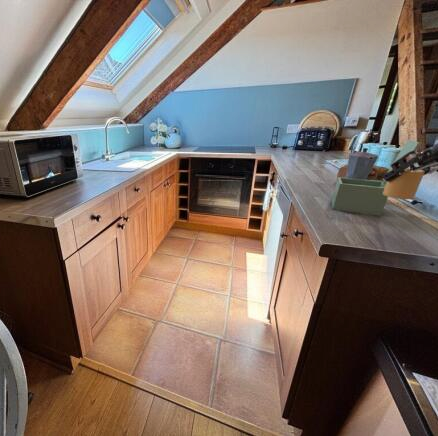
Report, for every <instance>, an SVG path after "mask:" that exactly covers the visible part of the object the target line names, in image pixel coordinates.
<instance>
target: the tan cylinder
mask: <svg viewBox="0 0 438 436" xmlns="http://www.w3.org/2000/svg"><path fill="white" fill-rule="evenodd" d="M409 168H410V167H408V168H407V169H409ZM391 170H393V169H391ZM405 170H406V169H405ZM424 172H425V171H424V170H418V171H410V172H408V173H405V174H403V175H401V176H399V177H398V178H396V179H394V180H392V181H390V182H387V183H386V186H385V188H384V191H383V195H385V196H388V198H393V199H398V200H399V199H400V200H413V199H415V196H416V194H417V191H418V190H419V187H420V184H421V182H422V179H423V177H424V176H425V175H424ZM423 175H424V176H423Z"/></svg>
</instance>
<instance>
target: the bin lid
mask: <svg viewBox="0 0 438 436" xmlns="http://www.w3.org/2000/svg"><path fill="white" fill-rule="evenodd" d="M421 145H422V143H421V142H419V141H416V140H412V139H406V141H405V143H404V144H403V146H402V148H401V150H399V152H398V154H397V156H396V158H395V159H394V161H393V163H394V162H396V161H397V160H398V159H400V158H401V157H403V156H404V155H406V154H407V153H409V152H411V151H415V153H416V154H417V151H418V150H419V148H420V147H421ZM388 169H389V171H391V169H392V167H391V166H390V167H389V168H388ZM389 171H388V172H389ZM383 180H384V179H383ZM384 181H385V180H384ZM385 182H386V181H385ZM386 183H387V182H386Z"/></svg>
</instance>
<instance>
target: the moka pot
mask: <svg viewBox="0 0 438 436" xmlns="http://www.w3.org/2000/svg"><path fill="white" fill-rule="evenodd" d="M368 150H369V148H367V147H364V148H362V151H357V150H356V149H355V150H353V152H350V153H349V154H348V160H347V165H348V166H347V173H346V177H345V178H352V179H363V180H366V178H367V176H368V175H369V174H370V172H371V170H372V168H373V166H375V164H376V162H377V160H378V159H379V156H378V154H375V153H372V152H367V151H368Z"/></svg>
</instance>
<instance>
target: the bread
mask: <svg viewBox="0 0 438 436" xmlns="http://www.w3.org/2000/svg"><path fill="white" fill-rule="evenodd" d="M347 166H348V164H344V165H343V166H341V167H340V168H338V171H337V174H336V180H337V179H338V177H340V178H345V177H346V173H347ZM389 169H390V168H388V167H386V166H379V165H374V166H373V168H372V170H371V172H370V174H369V175H368V176H367V178H366V180H375V181H384V180H383V179H384V178H383V175H384V174H386V173H387V172H388V171H389ZM384 182H385V181H384ZM385 183H386V182H385Z"/></svg>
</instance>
